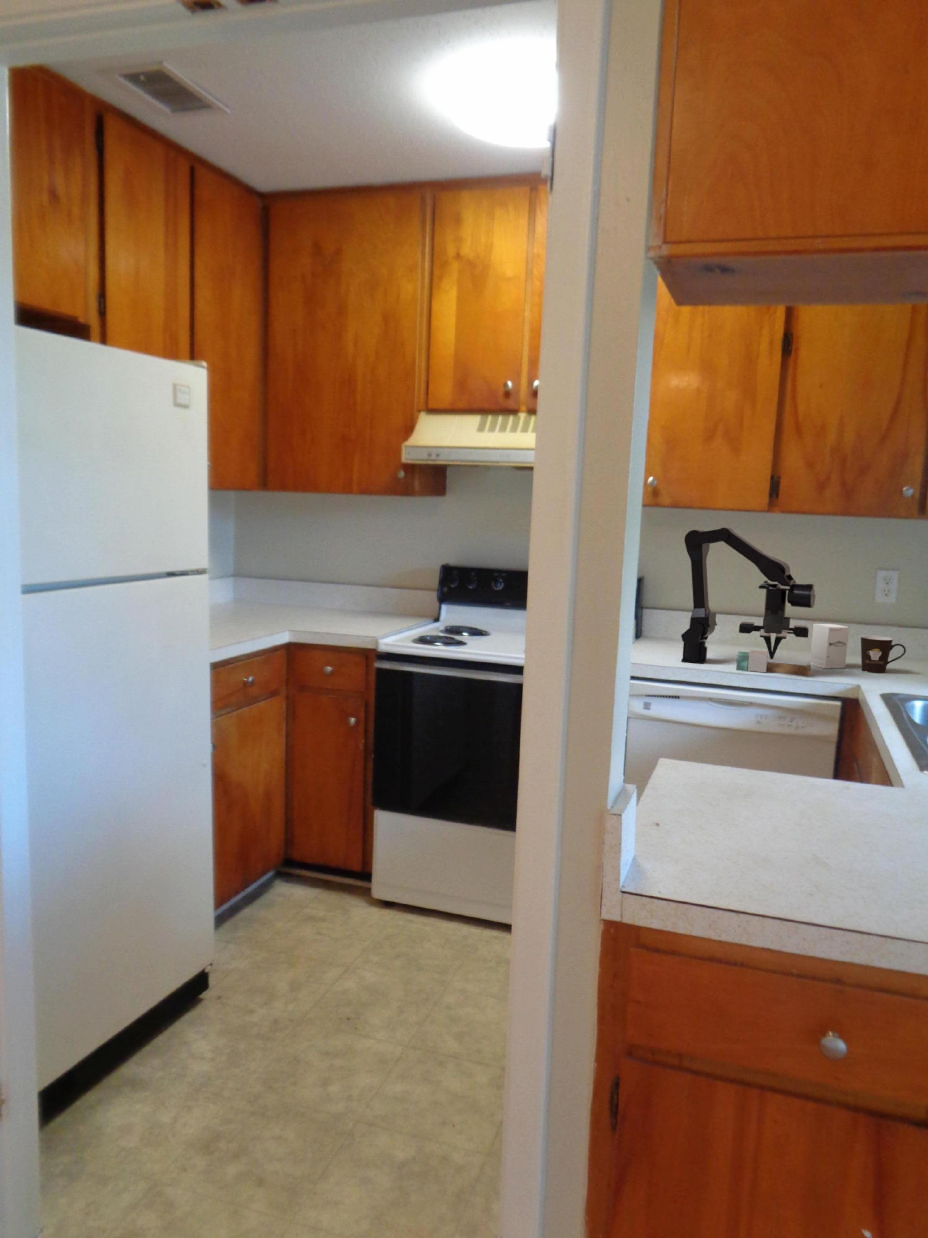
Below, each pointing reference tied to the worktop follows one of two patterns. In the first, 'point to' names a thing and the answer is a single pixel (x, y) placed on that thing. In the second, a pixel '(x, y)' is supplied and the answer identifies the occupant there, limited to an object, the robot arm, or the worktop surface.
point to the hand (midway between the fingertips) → (771, 659)
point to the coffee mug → (876, 653)
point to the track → (773, 666)
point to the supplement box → (829, 645)
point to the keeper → (757, 661)
